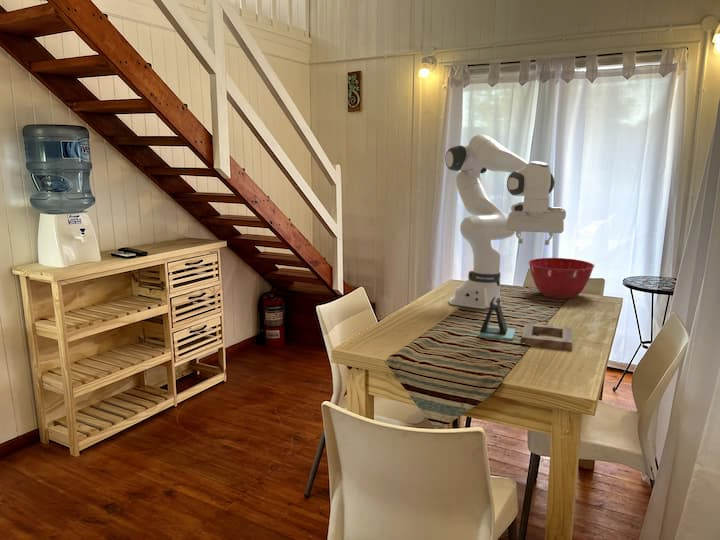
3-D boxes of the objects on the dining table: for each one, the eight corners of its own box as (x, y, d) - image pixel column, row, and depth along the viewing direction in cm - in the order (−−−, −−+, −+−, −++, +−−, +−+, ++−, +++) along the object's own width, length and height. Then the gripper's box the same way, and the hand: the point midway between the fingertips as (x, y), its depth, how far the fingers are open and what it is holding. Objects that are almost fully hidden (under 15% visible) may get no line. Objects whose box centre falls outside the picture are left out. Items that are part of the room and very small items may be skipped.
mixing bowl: (587, 306, 233) (590, 271, 230) (520, 298, 247) (522, 264, 244) (595, 293, 257) (597, 261, 254) (533, 286, 271) (535, 256, 268)
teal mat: (477, 336, 191) (477, 334, 191) (482, 327, 202) (482, 325, 202) (512, 340, 187) (512, 338, 187) (515, 330, 198) (515, 328, 198)
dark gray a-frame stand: (507, 330, 196) (509, 298, 194) (505, 335, 191) (507, 302, 188) (482, 327, 199) (483, 295, 197) (479, 332, 194) (481, 299, 192)
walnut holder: (521, 344, 183) (521, 337, 183) (524, 329, 200) (525, 322, 199) (571, 349, 178) (572, 342, 177) (571, 334, 194) (571, 327, 194)
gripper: (566, 206, 197) (563, 244, 200) (508, 205, 204) (506, 241, 207) (566, 208, 192) (563, 246, 194) (506, 206, 199) (504, 243, 201)
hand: (533, 244), depth 201 cm, fingers open, 8 cm apart
